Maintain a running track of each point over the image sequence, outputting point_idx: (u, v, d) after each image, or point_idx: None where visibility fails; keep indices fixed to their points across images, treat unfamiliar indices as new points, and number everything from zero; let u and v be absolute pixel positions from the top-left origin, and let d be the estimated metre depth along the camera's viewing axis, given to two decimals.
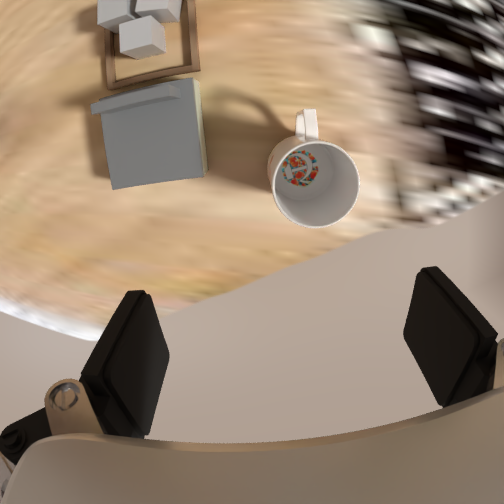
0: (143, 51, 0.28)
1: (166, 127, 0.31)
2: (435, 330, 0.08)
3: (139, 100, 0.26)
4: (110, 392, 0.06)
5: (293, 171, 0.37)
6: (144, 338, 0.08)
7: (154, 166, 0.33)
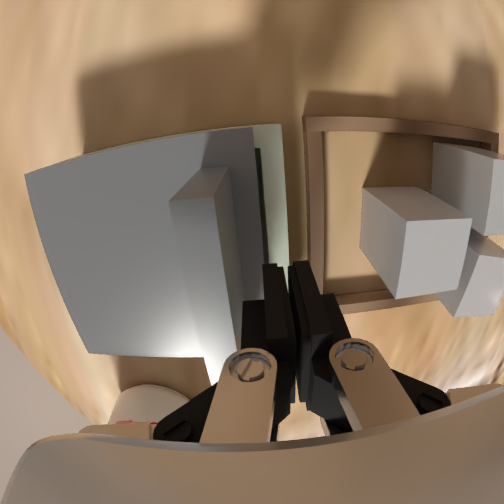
0: (382, 242, 0.15)
1: (162, 309, 0.15)
2: (294, 324, 0.09)
3: (209, 362, 0.10)
4: (287, 356, 0.07)
5: None
6: None
7: (81, 278, 0.14)
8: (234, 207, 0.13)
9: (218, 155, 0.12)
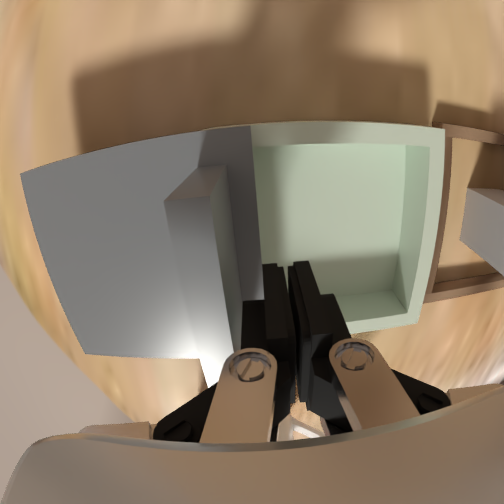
0: (492, 234, 0.14)
1: (158, 310, 0.15)
2: (294, 324, 0.09)
3: (205, 365, 0.10)
4: (287, 356, 0.07)
5: None
6: None
7: (77, 278, 0.14)
8: (231, 207, 0.13)
9: (215, 154, 0.12)
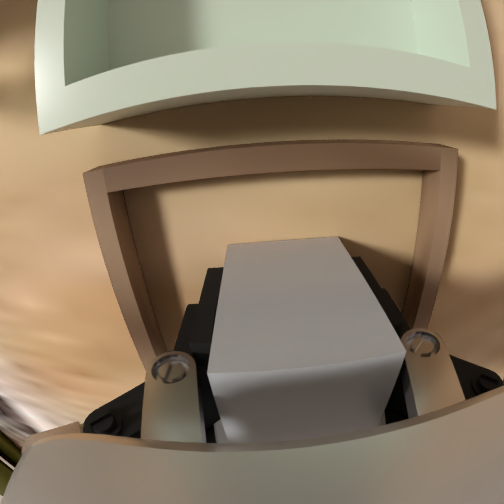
0: (293, 295, 0.08)
1: None
2: None
3: None
4: None
5: None
6: None
7: None
8: None
9: None
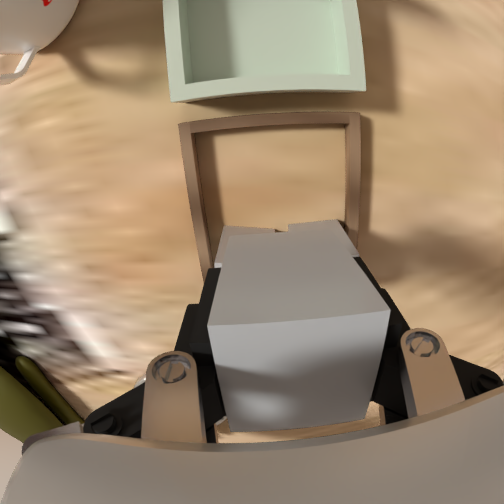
0: (287, 270, 0.08)
1: None
2: None
3: None
4: None
5: None
6: None
7: None
8: None
9: None
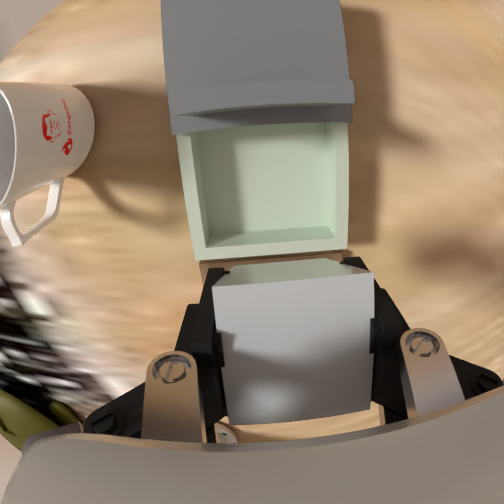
0: (284, 270, 0.10)
1: (217, 49, 0.16)
2: None
3: (235, 86, 0.13)
4: (215, 361, 0.07)
5: None
6: None
7: None
8: (302, 107, 0.17)
9: None
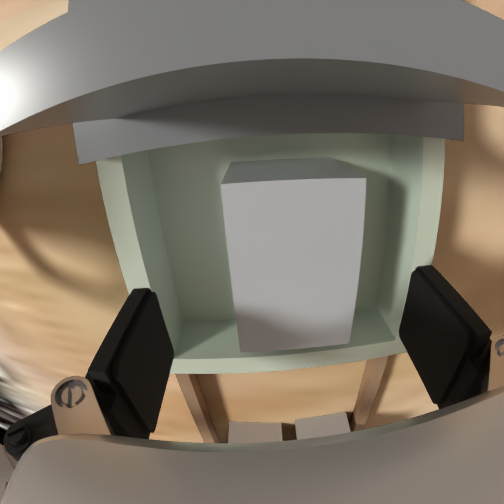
0: None
1: None
2: (429, 328, 0.08)
3: None
4: (117, 389, 0.06)
5: None
6: (150, 335, 0.08)
7: None
8: (374, 97, 0.07)
9: None
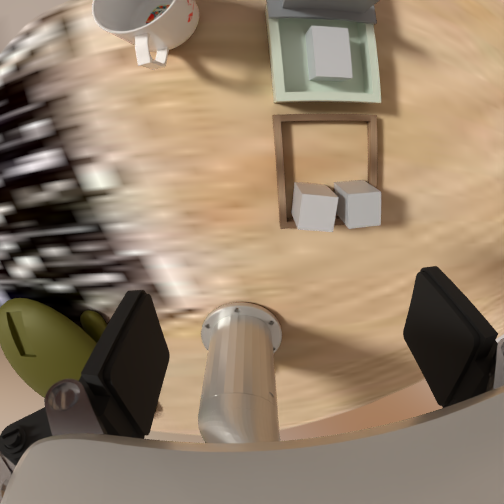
0: None
1: None
2: (435, 330, 0.08)
3: None
4: (110, 392, 0.06)
5: None
6: (144, 338, 0.08)
7: None
8: (347, 11, 0.23)
9: (366, 11, 0.22)
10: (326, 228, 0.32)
